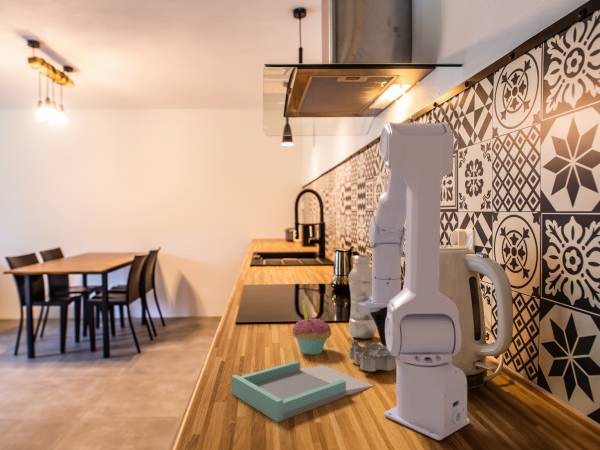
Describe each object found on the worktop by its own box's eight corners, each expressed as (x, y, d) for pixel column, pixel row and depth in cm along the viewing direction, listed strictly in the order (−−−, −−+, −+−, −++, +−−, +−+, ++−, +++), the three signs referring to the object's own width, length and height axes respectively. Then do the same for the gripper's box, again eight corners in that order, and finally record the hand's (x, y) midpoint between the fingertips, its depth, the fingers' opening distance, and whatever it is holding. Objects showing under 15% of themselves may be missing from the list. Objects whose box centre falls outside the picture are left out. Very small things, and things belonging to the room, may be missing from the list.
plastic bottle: (376, 342, 101) (376, 257, 100) (347, 340, 102) (347, 256, 101) (376, 334, 107) (376, 254, 106) (349, 333, 108) (349, 254, 108)
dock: (374, 390, 75) (374, 368, 75) (277, 427, 62) (277, 401, 62) (324, 369, 85) (324, 350, 85) (231, 398, 72) (231, 375, 72)
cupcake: (297, 359, 89) (297, 301, 89) (288, 346, 97) (287, 294, 97) (336, 355, 91) (336, 299, 91) (323, 343, 100) (323, 292, 99)
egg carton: (345, 356, 89) (346, 336, 89) (380, 356, 90) (381, 336, 90) (360, 372, 78) (361, 349, 78) (400, 372, 79) (400, 349, 80)
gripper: (393, 272, 94) (393, 333, 95) (346, 278, 85) (346, 346, 86) (420, 276, 89) (420, 341, 89) (373, 283, 80) (373, 355, 80)
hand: (386, 344), depth 87 cm, fingers closed
